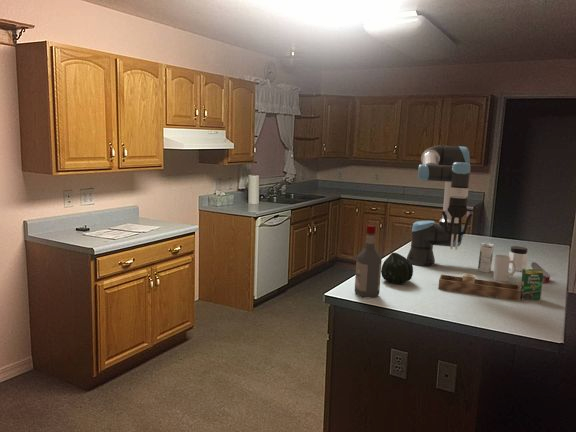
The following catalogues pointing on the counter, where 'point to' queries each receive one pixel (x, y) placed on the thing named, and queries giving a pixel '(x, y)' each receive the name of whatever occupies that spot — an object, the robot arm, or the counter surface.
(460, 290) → the box
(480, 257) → the syrup box
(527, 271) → the coffee box
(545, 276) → the canned food
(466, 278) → the birch block
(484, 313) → the counter surface
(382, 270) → the squash
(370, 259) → the liquor
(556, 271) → the counter surface
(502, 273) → the mug
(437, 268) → the counter surface
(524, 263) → the jar
